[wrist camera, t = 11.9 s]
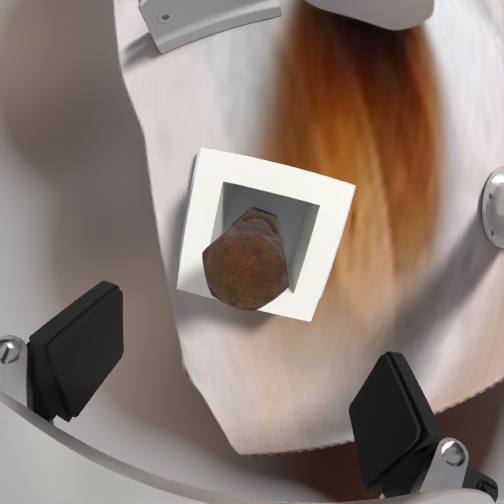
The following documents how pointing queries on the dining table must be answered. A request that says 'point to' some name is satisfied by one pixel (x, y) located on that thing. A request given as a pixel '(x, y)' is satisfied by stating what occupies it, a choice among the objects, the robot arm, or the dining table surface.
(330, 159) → the dining table surface
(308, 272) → the socket post
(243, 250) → the bolt
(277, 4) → the grey arched bracket
